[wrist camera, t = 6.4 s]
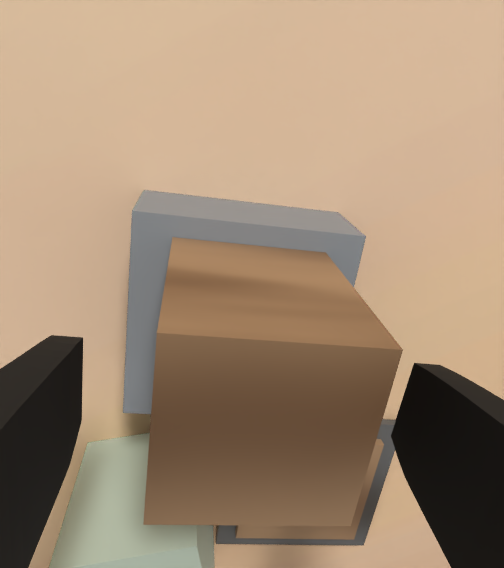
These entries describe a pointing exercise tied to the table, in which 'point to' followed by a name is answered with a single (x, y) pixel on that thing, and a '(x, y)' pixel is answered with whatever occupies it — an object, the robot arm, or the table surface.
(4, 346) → the table surface
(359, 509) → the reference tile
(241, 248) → the walnut block
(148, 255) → the base block
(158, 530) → the sage block
